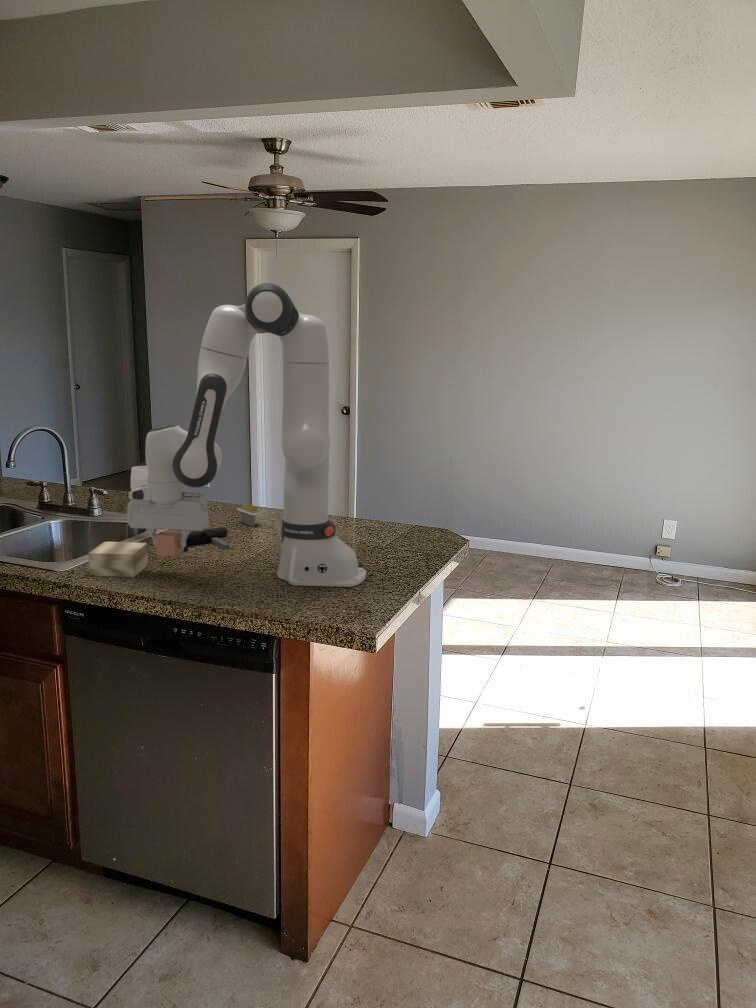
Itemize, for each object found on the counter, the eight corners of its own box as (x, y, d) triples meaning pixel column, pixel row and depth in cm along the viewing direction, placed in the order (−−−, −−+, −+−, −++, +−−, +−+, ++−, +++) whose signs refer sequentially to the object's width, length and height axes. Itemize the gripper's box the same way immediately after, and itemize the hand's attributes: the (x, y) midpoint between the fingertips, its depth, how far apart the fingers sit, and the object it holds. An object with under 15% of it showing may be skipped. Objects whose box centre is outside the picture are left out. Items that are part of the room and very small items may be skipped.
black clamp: (247, 539, 223) (221, 524, 235) (182, 549, 211) (157, 533, 223) (247, 550, 224) (221, 535, 236) (182, 560, 212) (158, 544, 224)
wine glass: (150, 541, 225) (148, 470, 221) (127, 539, 226) (124, 468, 222) (162, 535, 232) (160, 466, 228) (140, 533, 233) (137, 465, 229)
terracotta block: (183, 550, 196) (182, 531, 195) (175, 556, 191) (174, 536, 190) (165, 549, 197) (164, 530, 196) (156, 555, 192) (154, 535, 191)
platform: (251, 517, 260) (251, 498, 259) (281, 528, 246) (281, 508, 245) (219, 522, 252) (219, 502, 251) (248, 533, 239) (248, 512, 238)
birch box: (148, 565, 203) (147, 543, 202) (134, 578, 192) (133, 554, 191) (105, 563, 203) (104, 541, 202) (89, 576, 193) (88, 553, 191)
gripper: (211, 490, 192) (214, 545, 195) (134, 487, 196) (138, 541, 199) (201, 495, 186) (204, 551, 189) (122, 492, 190) (126, 547, 193)
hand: (169, 546), depth 194 cm, fingers closed on terracotta block, 5 cm apart
